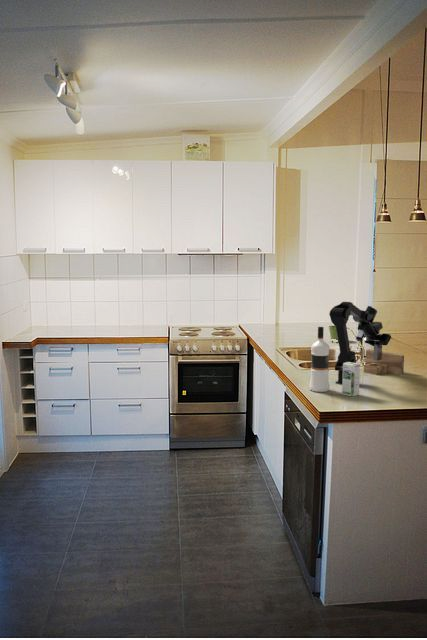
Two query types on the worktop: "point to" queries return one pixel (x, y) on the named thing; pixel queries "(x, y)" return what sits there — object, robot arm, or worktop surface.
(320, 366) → the vodka
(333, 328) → the plant pot
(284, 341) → the worktop surface
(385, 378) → the worktop surface
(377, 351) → the grey bar
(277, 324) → the worktop surface
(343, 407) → the worktop surface
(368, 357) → the wooden socket
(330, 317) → the robot arm
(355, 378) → the syrup box
